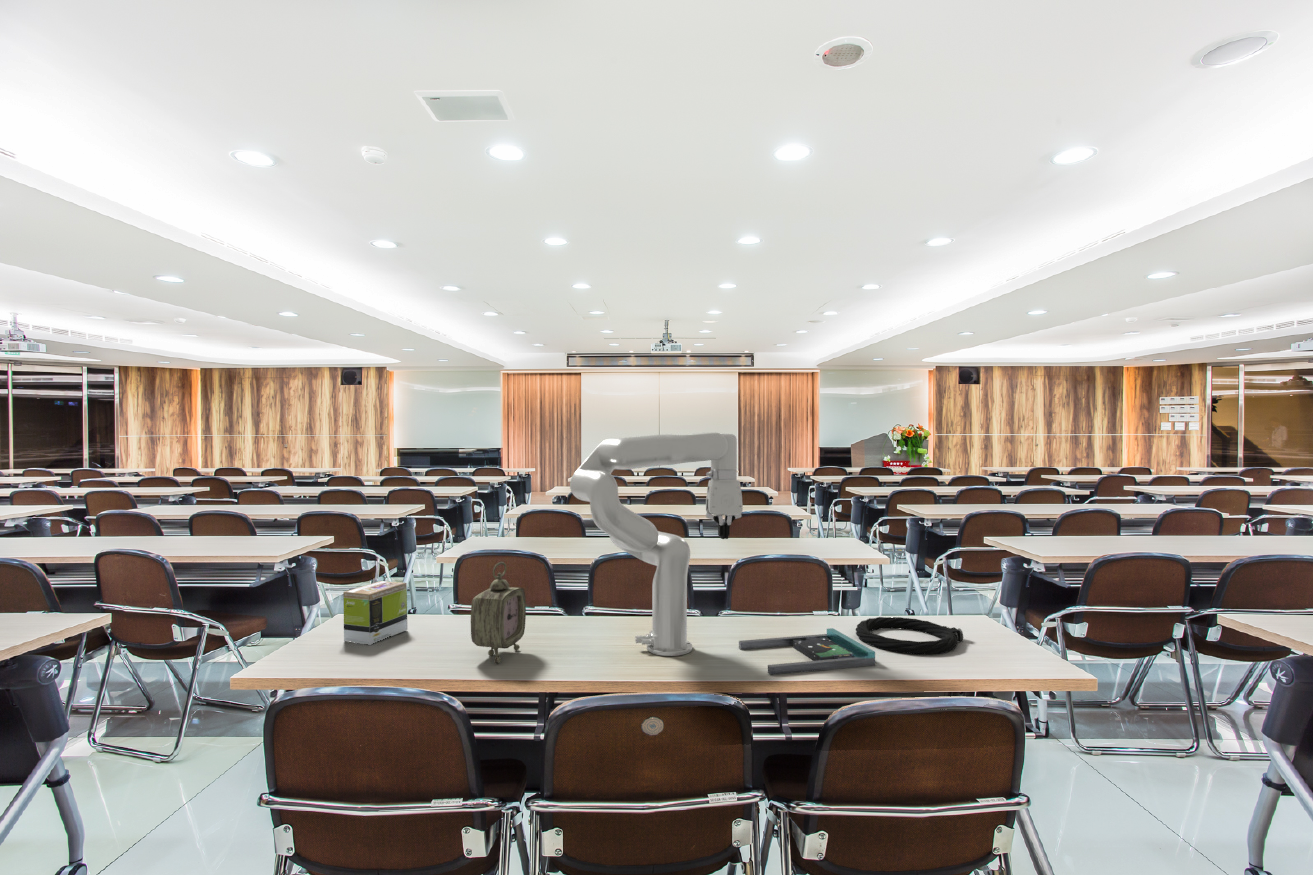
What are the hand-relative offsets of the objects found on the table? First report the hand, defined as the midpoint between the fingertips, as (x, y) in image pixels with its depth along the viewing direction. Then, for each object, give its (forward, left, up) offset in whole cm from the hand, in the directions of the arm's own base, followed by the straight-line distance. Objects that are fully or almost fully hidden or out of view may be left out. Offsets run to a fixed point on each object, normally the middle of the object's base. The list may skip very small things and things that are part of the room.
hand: (723, 538), depth 181 cm
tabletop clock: (-64, -1, -29) cm, 70 cm away
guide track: (+15, -20, -29) cm, 39 cm away
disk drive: (+21, -20, -30) cm, 42 cm away
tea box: (-99, +25, -29) cm, 106 cm away
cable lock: (+52, -14, -30) cm, 62 cm away
